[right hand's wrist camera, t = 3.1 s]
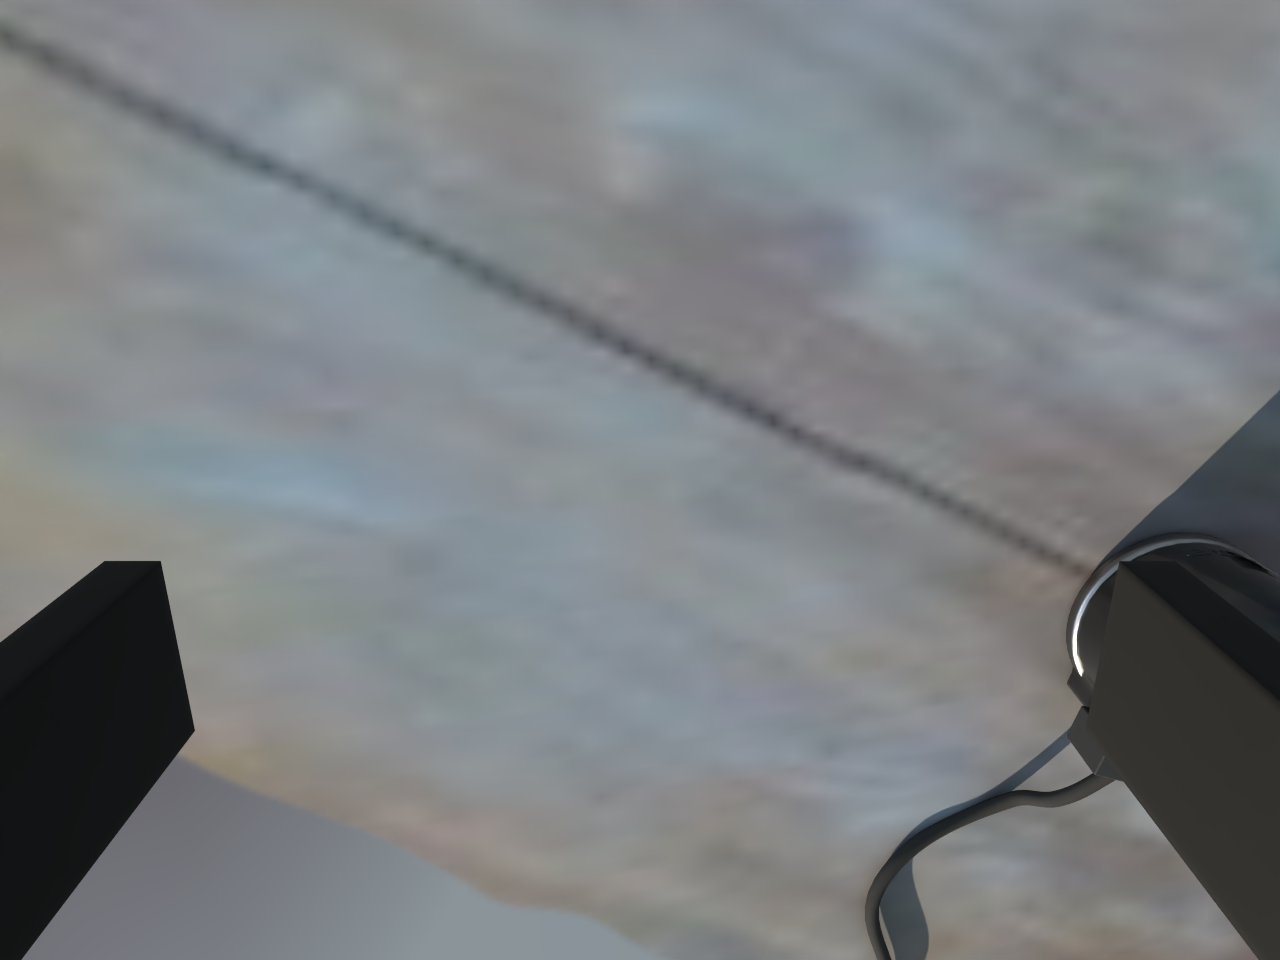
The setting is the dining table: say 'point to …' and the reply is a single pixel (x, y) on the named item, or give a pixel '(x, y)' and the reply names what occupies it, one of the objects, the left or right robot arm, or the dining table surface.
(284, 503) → the dining table surface
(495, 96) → the dining table surface
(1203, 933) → the dining table surface
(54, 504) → the dining table surface
